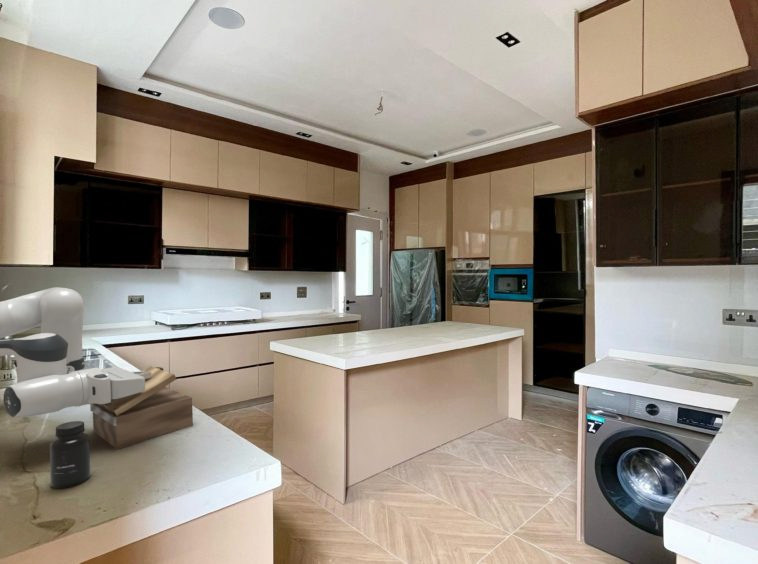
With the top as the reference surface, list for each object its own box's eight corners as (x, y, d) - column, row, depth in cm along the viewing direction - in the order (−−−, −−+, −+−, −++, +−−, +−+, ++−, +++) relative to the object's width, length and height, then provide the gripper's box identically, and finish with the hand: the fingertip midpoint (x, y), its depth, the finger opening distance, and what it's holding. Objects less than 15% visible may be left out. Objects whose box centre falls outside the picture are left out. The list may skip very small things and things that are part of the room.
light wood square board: (95, 403, 110) (92, 398, 110) (152, 370, 121) (150, 366, 121) (117, 416, 100) (114, 410, 100) (176, 379, 111) (174, 374, 111)
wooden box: (91, 432, 110) (90, 403, 110) (164, 411, 125) (164, 386, 125) (115, 450, 99) (113, 418, 99) (192, 425, 114) (192, 397, 114)
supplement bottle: (58, 493, 80) (56, 434, 80) (45, 483, 84) (42, 427, 83) (97, 477, 86) (95, 422, 85) (83, 469, 89) (80, 416, 89)
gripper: (79, 390, 109) (135, 379, 120) (105, 405, 96) (165, 391, 107) (78, 367, 109) (134, 358, 120) (104, 380, 96) (164, 368, 107)
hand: (149, 374), depth 113 cm, fingers closed
